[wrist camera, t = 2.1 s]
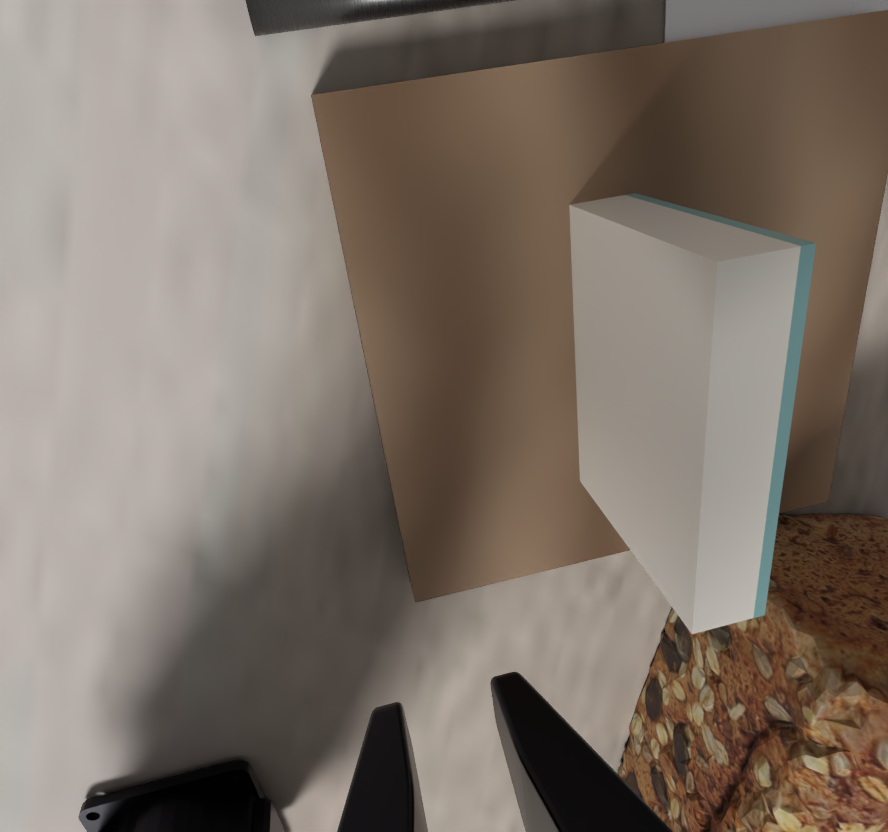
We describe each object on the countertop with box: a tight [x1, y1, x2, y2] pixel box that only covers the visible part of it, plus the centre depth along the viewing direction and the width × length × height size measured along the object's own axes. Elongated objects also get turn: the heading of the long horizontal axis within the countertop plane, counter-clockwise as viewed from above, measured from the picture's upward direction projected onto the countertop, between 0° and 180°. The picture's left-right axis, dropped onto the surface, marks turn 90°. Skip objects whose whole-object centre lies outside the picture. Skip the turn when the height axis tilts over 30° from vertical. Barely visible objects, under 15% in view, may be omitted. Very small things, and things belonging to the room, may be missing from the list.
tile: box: [569, 193, 816, 634], centre depth 16 cm, size 2×9×7 cm, turn 8°
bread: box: [619, 513, 888, 832], centre depth 25 cm, size 19×11×10 cm, turn 173°
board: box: [311, 10, 888, 602], centre depth 20 cm, size 16×16×1 cm
